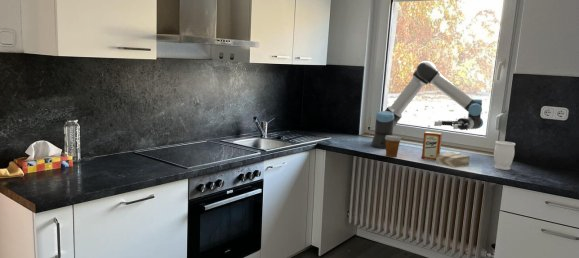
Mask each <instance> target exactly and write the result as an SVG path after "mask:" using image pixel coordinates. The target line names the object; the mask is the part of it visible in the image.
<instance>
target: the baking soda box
mask: <svg viewBox="0 0 579 258" xmlns="http://www.w3.org/2000/svg"><path fill="white" fill-rule="evenodd" d="M442 136H443V133H442V132H436V131H434V132H433V131H424V132H423V139H422V140H423V142H422V151H421V152H422V153H421V159H426V160H431V161H432V160H433V161H436V157H437V154H441V146H442V139H443V138H442Z"/></svg>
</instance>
